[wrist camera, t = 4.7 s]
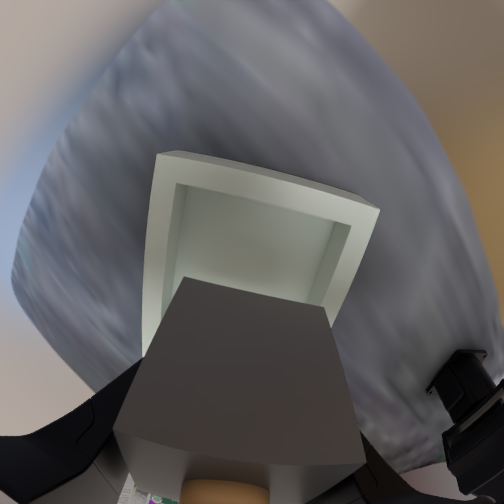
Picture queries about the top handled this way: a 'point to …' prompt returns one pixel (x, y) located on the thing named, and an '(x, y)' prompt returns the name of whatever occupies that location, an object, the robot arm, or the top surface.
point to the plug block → (239, 402)
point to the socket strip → (249, 234)
